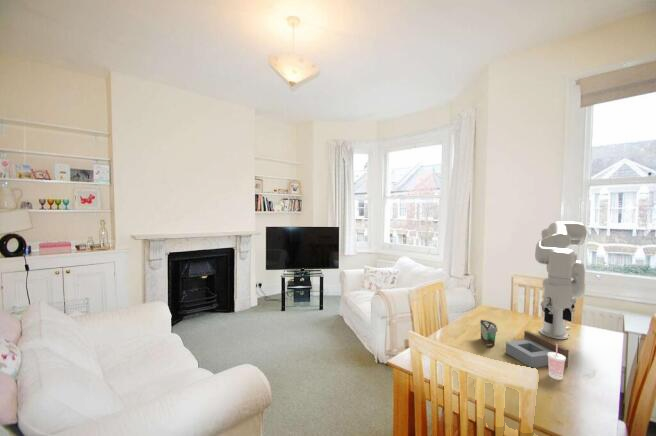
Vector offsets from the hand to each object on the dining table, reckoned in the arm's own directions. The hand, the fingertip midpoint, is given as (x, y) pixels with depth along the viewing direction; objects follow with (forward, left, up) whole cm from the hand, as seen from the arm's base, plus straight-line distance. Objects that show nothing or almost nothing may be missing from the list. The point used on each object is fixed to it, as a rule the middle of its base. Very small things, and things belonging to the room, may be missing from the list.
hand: (557, 321), depth 121 cm
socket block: (-3, -14, -24) cm, 28 cm away
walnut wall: (-11, -14, -24) cm, 30 cm away
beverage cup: (0, 0, -24) cm, 24 cm away
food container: (+4, -31, -24) cm, 39 cm away
